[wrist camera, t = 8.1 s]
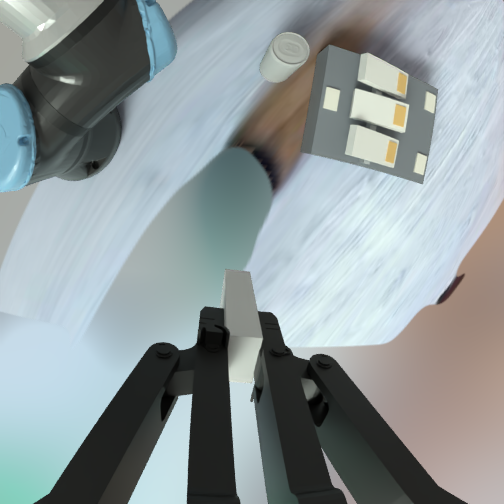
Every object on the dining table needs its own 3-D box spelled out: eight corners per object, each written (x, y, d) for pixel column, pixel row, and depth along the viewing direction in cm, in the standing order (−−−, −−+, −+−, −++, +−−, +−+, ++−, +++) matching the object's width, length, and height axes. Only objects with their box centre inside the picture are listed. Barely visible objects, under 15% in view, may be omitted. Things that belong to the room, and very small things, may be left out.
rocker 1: (357, 80, 34) (365, 79, 32) (360, 54, 32) (368, 52, 31) (398, 99, 36) (406, 99, 35) (401, 74, 35) (409, 74, 33)
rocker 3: (344, 154, 37) (352, 155, 36) (350, 124, 36) (358, 124, 34) (386, 166, 40) (394, 168, 38) (391, 139, 38) (399, 140, 37)
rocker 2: (349, 117, 37) (351, 116, 35) (353, 90, 36) (355, 88, 34) (401, 132, 36) (405, 132, 35) (405, 106, 35) (409, 104, 33)
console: (300, 152, 45) (313, 154, 38) (317, 53, 39) (332, 41, 32) (403, 178, 48) (427, 185, 41) (418, 91, 42) (442, 87, 35)
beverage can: (263, 52, 39) (276, 26, 27) (293, 61, 39) (315, 38, 28) (255, 78, 40) (265, 58, 29) (285, 87, 41) (305, 71, 30)
